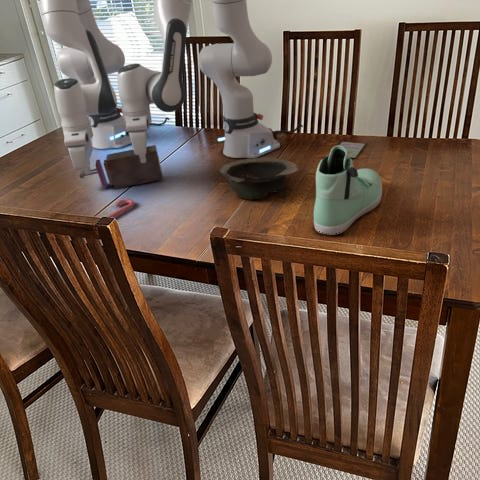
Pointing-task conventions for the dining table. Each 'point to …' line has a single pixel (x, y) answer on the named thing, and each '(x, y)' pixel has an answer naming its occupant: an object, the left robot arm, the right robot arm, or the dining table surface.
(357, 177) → the sneaker
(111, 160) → the cabinet
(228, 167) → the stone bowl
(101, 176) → the drawer
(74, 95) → the left robot arm
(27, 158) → the dining table surface
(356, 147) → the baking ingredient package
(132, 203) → the candy cane
